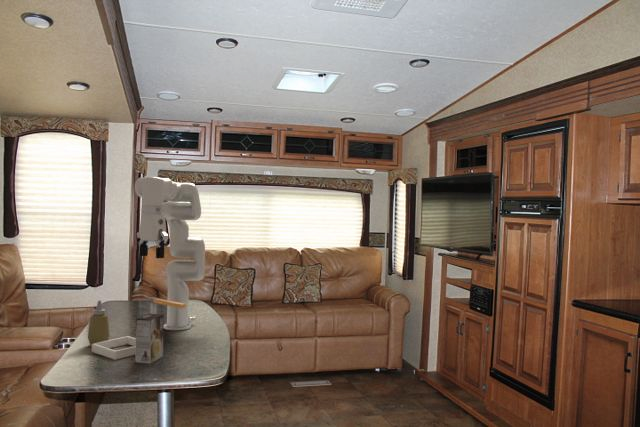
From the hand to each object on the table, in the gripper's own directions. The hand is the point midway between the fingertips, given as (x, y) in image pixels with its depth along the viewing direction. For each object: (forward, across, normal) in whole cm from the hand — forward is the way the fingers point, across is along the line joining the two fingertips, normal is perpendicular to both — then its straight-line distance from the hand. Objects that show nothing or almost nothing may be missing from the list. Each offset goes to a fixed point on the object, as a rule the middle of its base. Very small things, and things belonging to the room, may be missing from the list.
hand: (151, 257), depth 181 cm
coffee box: (+38, 0, 0) cm, 38 cm away
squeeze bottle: (+38, +31, +2) cm, 49 cm away
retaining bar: (+21, +8, -14) cm, 26 cm away
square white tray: (+38, +17, -3) cm, 42 cm away
